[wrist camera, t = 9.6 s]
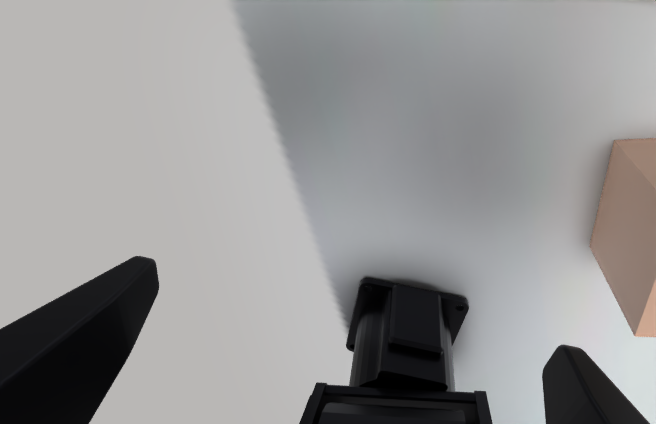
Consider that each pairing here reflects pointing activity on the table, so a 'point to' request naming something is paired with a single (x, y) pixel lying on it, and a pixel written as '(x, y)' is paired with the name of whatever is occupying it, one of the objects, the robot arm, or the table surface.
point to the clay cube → (629, 232)
